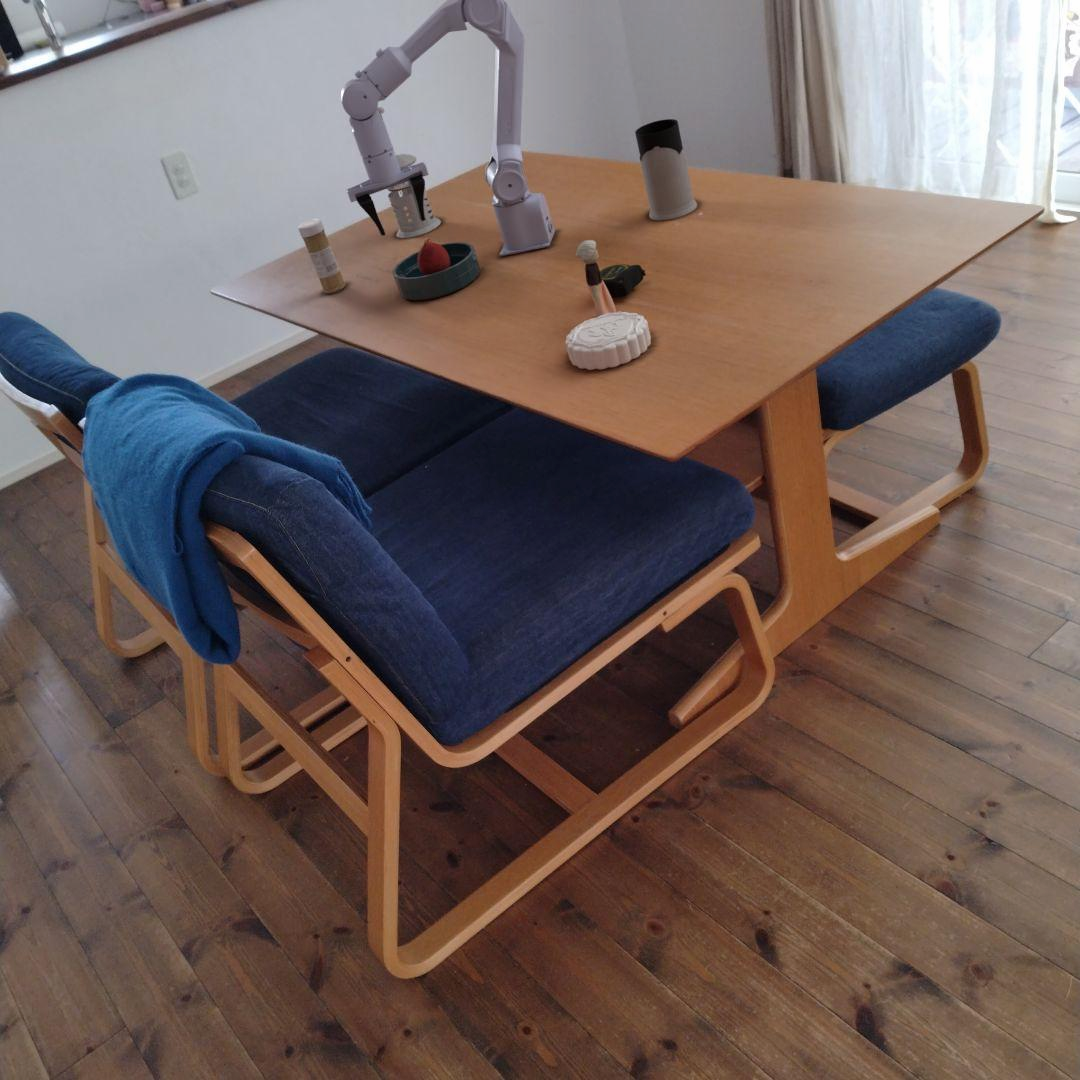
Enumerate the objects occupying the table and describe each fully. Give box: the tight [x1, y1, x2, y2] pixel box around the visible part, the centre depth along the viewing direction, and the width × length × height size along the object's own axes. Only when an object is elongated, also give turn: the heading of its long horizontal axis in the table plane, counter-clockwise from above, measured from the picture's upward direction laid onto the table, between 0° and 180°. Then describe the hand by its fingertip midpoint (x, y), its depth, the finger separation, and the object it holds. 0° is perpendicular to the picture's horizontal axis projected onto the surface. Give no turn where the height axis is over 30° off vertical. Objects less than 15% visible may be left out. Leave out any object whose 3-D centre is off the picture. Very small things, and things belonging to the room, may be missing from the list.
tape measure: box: [600, 263, 646, 300], centre depth 173 cm, size 7×7×4 cm
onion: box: [417, 237, 450, 275], centre depth 197 cm, size 6×6×8 cm
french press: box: [377, 106, 442, 239], centre depth 225 cm, size 10×12×25 cm
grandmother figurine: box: [575, 239, 617, 318], centre depth 164 cm, size 8×4×13 cm, turn 12°
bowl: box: [392, 241, 482, 301], centre depth 199 cm, size 15×15×4 cm
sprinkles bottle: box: [297, 218, 346, 294], centre depth 209 cm, size 5×5×14 cm
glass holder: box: [634, 118, 698, 221], centre depth 197 cm, size 9×14×15 cm, turn 167°
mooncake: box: [565, 311, 652, 371], centre depth 157 cm, size 12×12×4 cm
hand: (402, 226), depth 199 cm, fingers open, 7 cm apart
